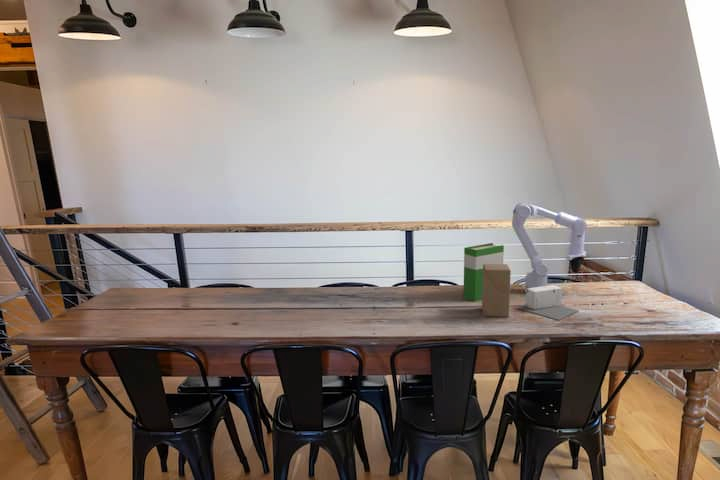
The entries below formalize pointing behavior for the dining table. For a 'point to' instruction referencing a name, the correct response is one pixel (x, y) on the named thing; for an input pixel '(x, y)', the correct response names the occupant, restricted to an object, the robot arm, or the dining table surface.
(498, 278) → the wooden block
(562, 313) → the mat
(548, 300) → the skincare box
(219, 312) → the dining table surface
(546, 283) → the robot arm
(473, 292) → the hardback book
